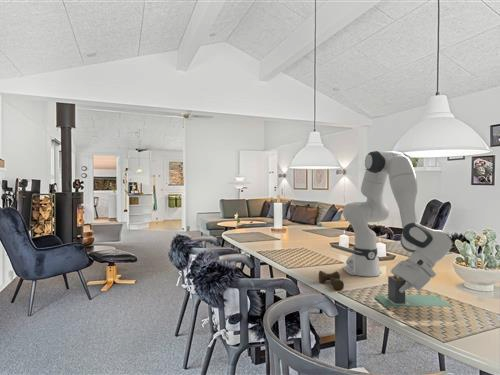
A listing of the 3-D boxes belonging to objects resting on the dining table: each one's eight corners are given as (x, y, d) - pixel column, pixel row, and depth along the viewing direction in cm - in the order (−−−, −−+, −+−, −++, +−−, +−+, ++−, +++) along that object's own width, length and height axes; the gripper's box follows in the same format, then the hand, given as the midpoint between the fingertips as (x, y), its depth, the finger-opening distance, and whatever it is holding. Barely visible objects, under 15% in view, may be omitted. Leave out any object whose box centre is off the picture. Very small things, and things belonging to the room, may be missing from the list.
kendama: (328, 292, 155) (315, 279, 175) (348, 292, 156) (333, 279, 176) (329, 279, 155) (316, 267, 175) (349, 279, 156) (334, 267, 176)
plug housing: (388, 297, 142) (388, 273, 142) (397, 297, 142) (397, 273, 142) (395, 303, 135) (395, 278, 135) (405, 303, 135) (405, 277, 135)
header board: (374, 298, 145) (374, 295, 145) (434, 298, 145) (434, 294, 145) (387, 310, 132) (387, 306, 132) (453, 309, 132) (453, 305, 132)
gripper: (401, 253, 149) (379, 276, 149) (427, 264, 128) (401, 290, 128) (411, 263, 149) (389, 286, 149) (438, 276, 129) (412, 302, 128)
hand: (395, 288), depth 138 cm, fingers closed on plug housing, 7 cm apart
